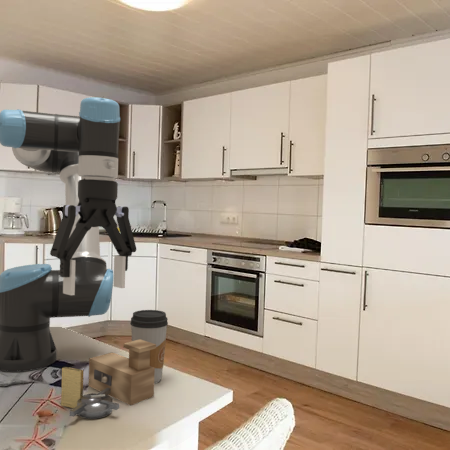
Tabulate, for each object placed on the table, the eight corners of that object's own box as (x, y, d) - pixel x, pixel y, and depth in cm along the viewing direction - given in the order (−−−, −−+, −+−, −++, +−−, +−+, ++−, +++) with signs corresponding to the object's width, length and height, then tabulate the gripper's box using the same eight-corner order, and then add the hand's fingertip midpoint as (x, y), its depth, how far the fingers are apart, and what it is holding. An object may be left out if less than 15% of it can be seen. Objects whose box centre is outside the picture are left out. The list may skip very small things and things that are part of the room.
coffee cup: (158, 388, 102) (161, 319, 101) (122, 384, 103) (124, 316, 103) (171, 375, 110) (173, 311, 109) (137, 371, 112) (138, 308, 111)
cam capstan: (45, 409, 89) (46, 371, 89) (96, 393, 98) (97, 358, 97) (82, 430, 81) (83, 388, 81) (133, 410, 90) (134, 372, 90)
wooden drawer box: (84, 387, 101) (85, 337, 100) (112, 378, 106) (113, 330, 106) (126, 407, 92) (127, 352, 92) (154, 396, 98) (156, 344, 97)
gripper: (54, 174, 81) (51, 301, 82) (155, 183, 100) (152, 286, 101) (31, 175, 86) (28, 294, 87) (132, 182, 104) (129, 281, 105)
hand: (95, 290), depth 94 cm, fingers open, 11 cm apart
